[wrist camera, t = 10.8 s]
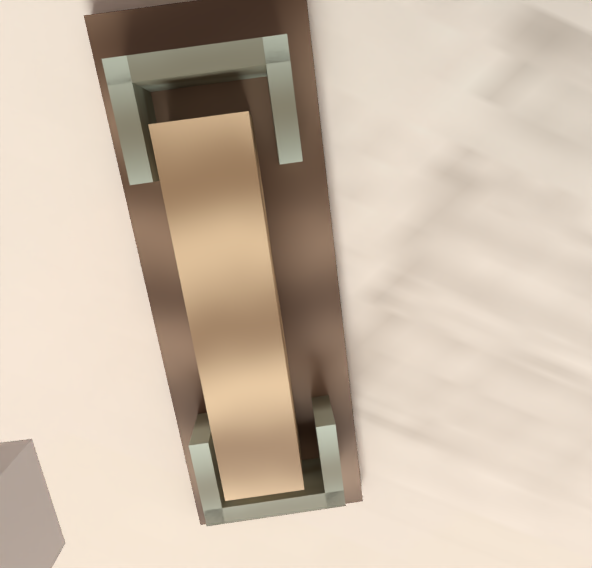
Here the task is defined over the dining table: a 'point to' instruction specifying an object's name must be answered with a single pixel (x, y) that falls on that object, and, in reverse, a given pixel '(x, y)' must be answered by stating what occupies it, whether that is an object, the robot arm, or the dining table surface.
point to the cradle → (279, 208)
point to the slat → (231, 298)
